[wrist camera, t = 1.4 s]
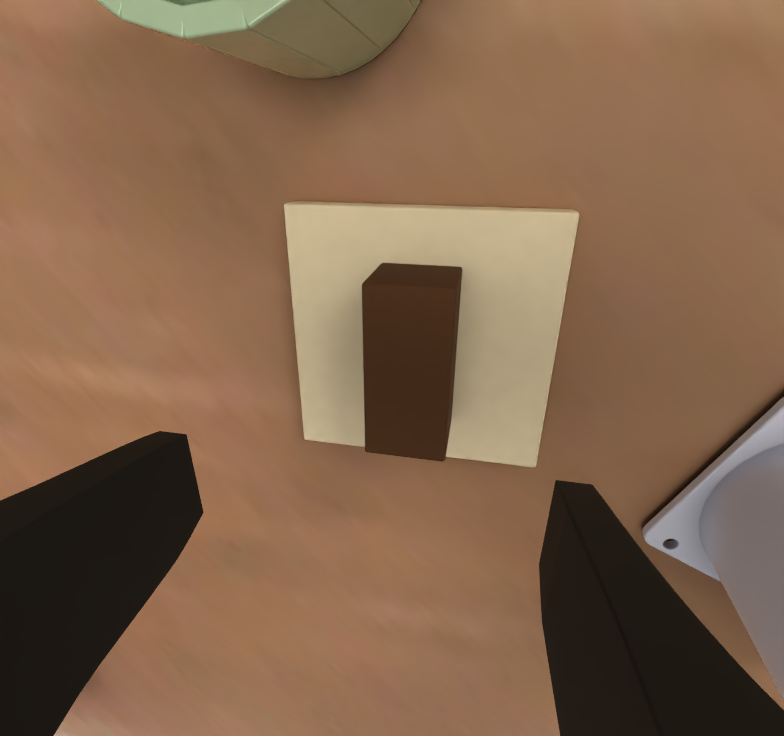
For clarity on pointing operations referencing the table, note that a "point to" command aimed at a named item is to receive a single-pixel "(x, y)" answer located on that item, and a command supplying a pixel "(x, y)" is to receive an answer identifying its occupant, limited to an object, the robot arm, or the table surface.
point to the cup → (278, 29)
